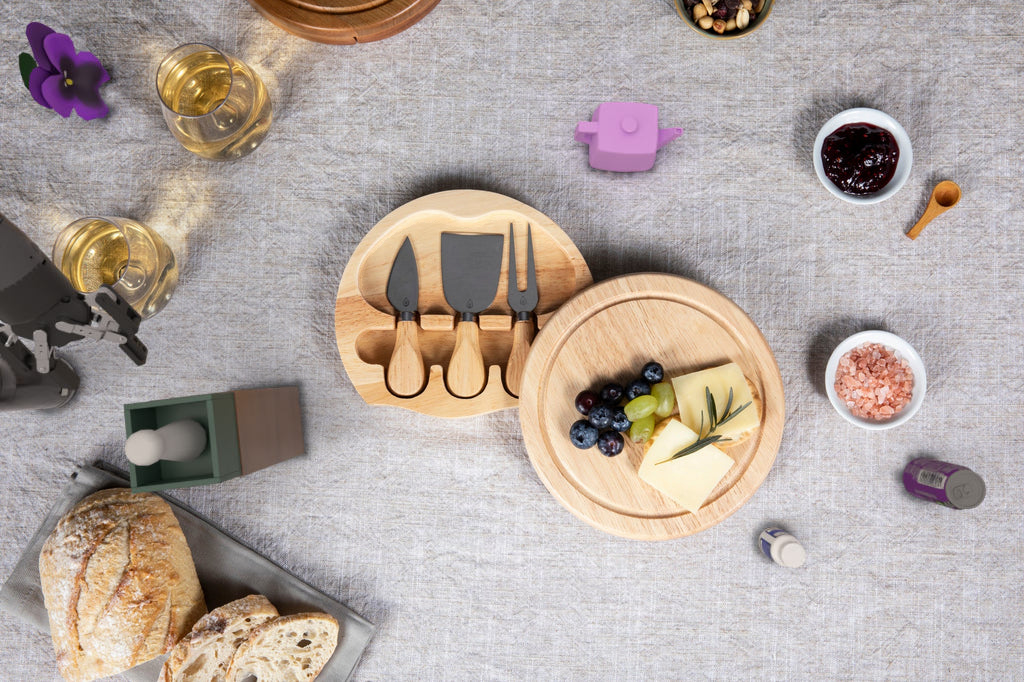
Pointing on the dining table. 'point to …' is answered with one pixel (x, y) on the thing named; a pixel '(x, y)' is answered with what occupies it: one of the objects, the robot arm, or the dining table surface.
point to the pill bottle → (782, 547)
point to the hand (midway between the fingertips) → (110, 373)
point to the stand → (267, 426)
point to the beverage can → (944, 483)
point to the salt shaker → (167, 443)
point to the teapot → (624, 136)
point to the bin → (203, 470)
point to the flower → (62, 74)
